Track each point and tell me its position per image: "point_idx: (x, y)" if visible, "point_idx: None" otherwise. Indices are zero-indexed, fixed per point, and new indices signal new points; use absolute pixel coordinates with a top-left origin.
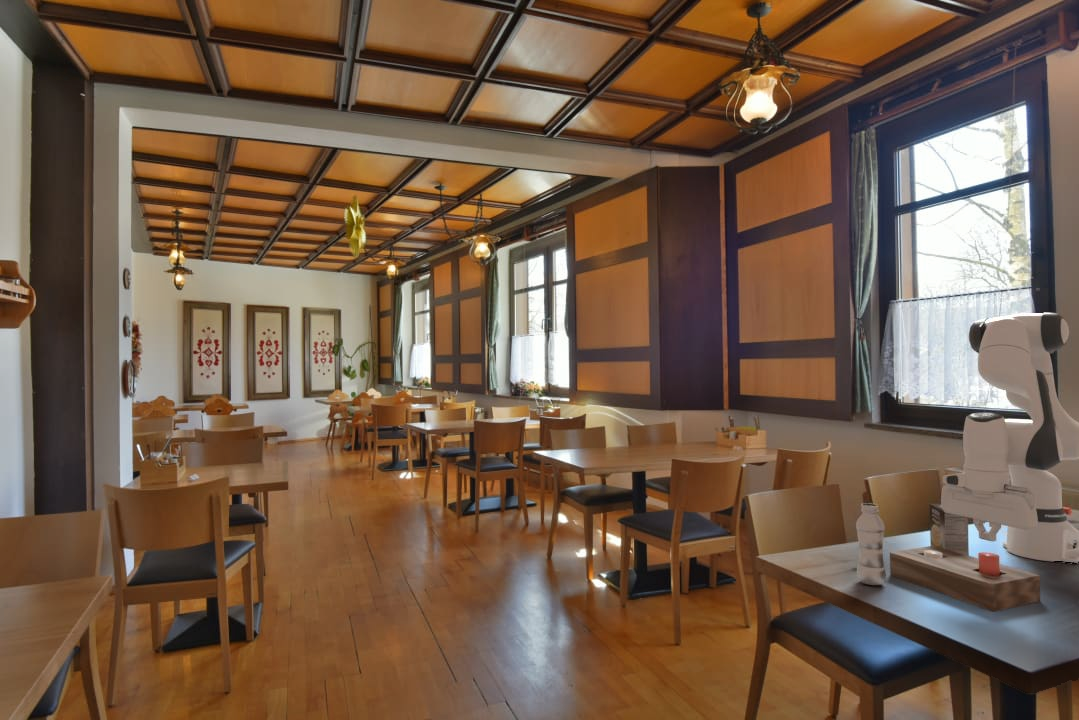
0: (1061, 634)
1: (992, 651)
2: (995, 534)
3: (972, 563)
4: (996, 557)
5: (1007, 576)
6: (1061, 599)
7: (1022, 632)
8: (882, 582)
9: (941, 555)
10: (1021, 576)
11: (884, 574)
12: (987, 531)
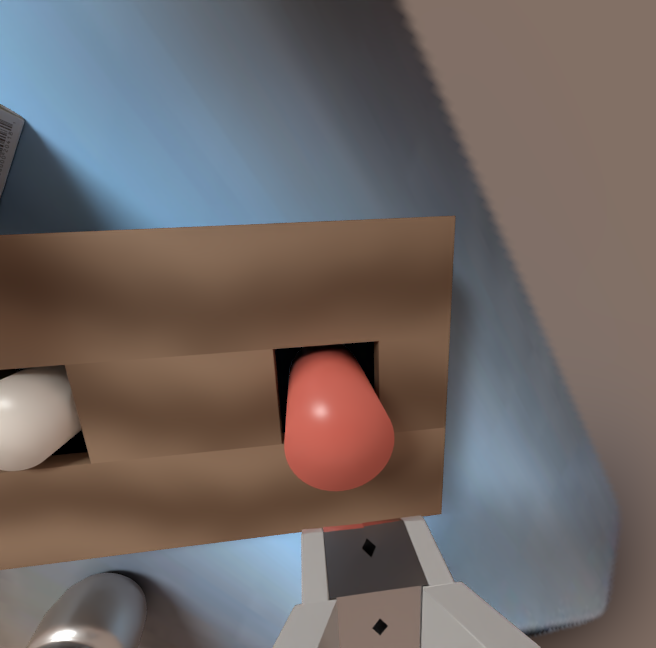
0: (563, 422)
1: (534, 615)
2: (449, 582)
3: (201, 353)
4: (393, 446)
5: (404, 378)
6: (424, 123)
7: (514, 493)
8: (145, 602)
9: (55, 414)
10: (429, 318)
11: (128, 624)
12: (349, 595)
